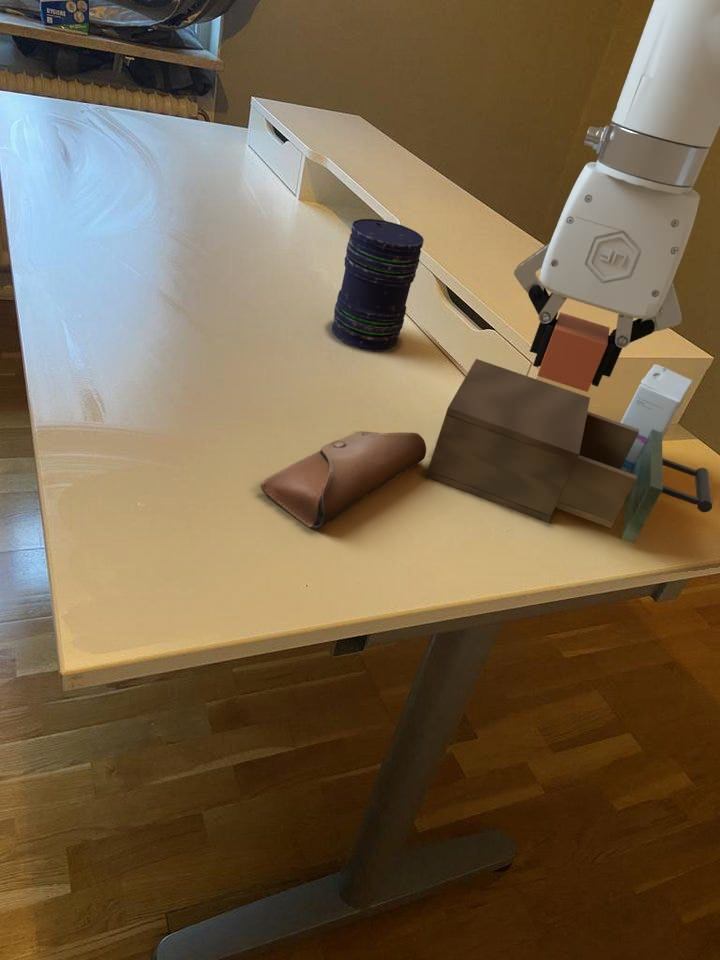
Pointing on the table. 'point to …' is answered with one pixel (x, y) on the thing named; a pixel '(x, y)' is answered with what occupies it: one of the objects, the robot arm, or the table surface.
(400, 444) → the sunglasses case
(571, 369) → the block
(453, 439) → the cabinet
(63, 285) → the table surface
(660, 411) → the ink box
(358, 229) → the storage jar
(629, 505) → the drawer
